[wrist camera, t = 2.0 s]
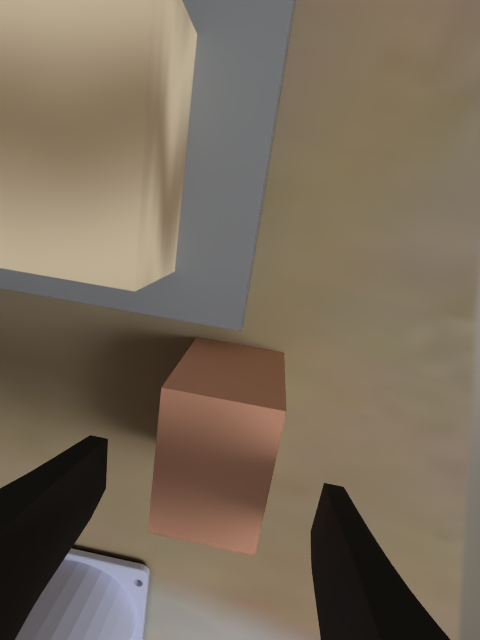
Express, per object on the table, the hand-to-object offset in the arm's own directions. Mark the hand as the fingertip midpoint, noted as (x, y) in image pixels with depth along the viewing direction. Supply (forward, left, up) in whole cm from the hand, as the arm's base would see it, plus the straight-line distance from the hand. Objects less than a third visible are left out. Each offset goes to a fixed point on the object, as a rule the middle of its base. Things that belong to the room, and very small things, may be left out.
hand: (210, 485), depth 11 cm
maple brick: (+10, +6, -4) cm, 12 cm away
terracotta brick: (0, 0, -6) cm, 6 cm away
